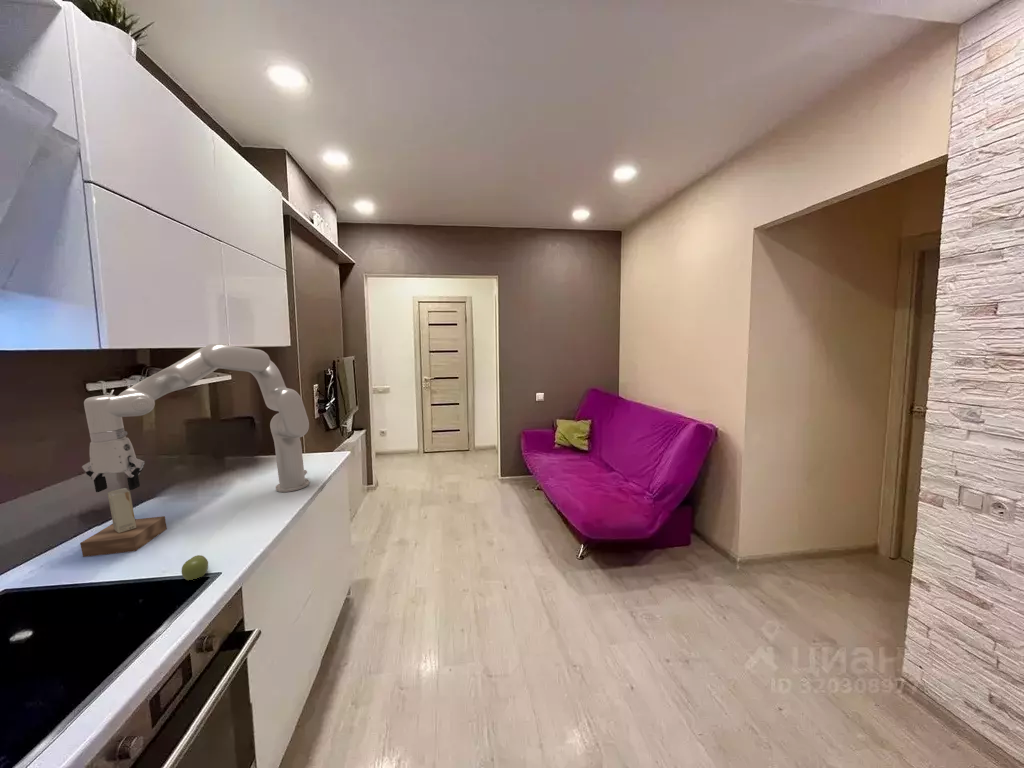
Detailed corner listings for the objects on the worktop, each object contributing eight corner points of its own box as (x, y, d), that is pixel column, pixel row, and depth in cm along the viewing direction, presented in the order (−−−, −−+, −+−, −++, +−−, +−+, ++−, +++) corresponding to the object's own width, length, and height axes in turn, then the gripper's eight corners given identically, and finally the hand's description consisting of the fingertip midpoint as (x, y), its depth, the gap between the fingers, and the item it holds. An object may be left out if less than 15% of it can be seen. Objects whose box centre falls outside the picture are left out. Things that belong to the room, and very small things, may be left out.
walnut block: (119, 535, 135) (117, 521, 134) (167, 530, 137) (164, 516, 136) (83, 558, 121) (80, 542, 121) (136, 552, 123) (133, 537, 123)
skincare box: (137, 528, 129) (131, 491, 127) (118, 534, 125) (111, 495, 123) (131, 523, 132) (125, 486, 131) (113, 528, 129) (106, 491, 127)
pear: (178, 566, 104) (184, 555, 112) (181, 586, 104) (186, 574, 112) (205, 558, 107) (209, 548, 115) (208, 578, 107) (211, 566, 115)
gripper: (148, 431, 129) (157, 482, 131) (89, 434, 128) (100, 486, 130) (127, 437, 121) (137, 492, 124) (65, 441, 120) (77, 496, 123)
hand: (118, 489), depth 127 cm, fingers open, 9 cm apart
